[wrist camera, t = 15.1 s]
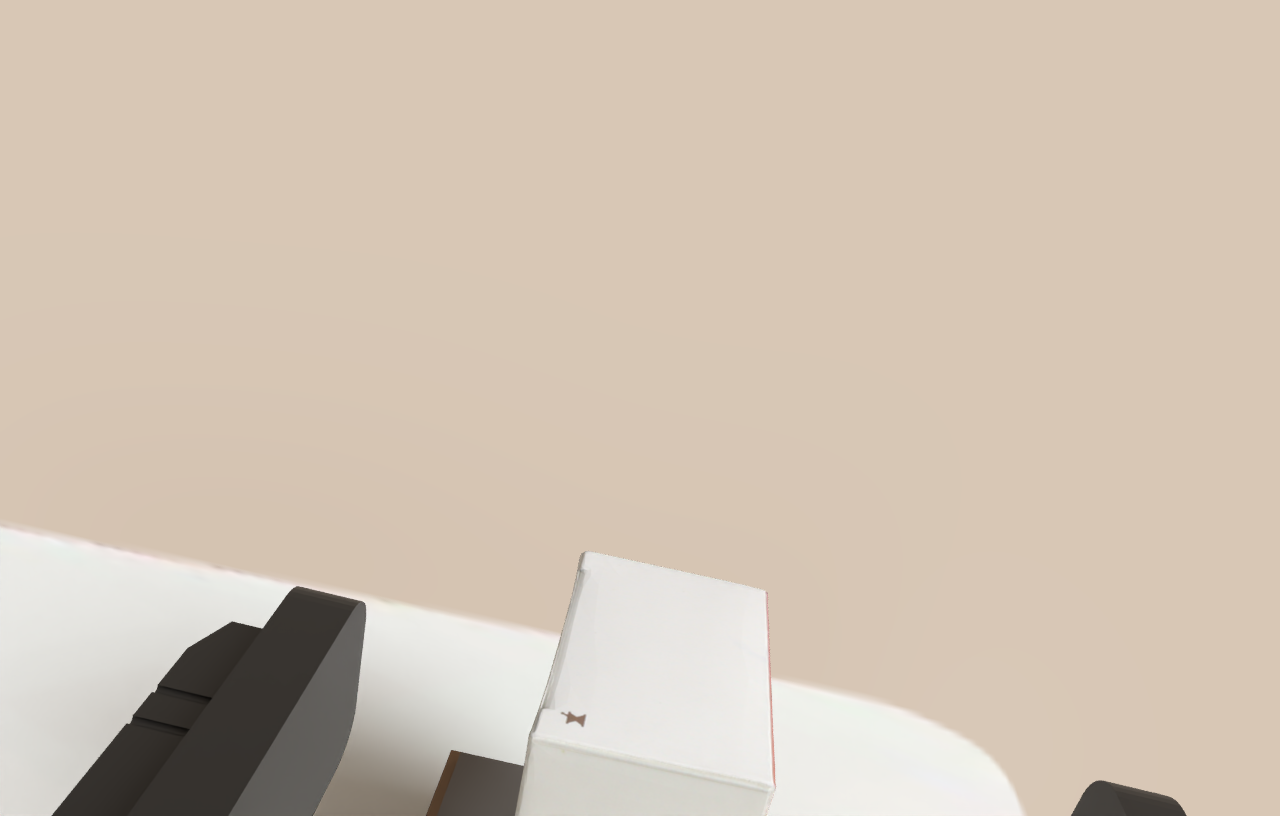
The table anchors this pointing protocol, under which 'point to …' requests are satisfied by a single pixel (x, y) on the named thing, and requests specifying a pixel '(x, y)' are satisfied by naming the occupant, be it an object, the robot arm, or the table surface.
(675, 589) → the small box
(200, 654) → the robot arm
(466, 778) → the plinth
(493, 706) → the table surface
